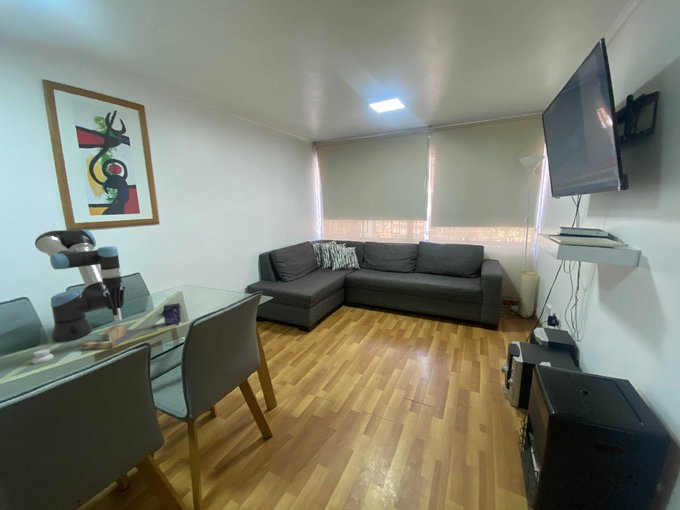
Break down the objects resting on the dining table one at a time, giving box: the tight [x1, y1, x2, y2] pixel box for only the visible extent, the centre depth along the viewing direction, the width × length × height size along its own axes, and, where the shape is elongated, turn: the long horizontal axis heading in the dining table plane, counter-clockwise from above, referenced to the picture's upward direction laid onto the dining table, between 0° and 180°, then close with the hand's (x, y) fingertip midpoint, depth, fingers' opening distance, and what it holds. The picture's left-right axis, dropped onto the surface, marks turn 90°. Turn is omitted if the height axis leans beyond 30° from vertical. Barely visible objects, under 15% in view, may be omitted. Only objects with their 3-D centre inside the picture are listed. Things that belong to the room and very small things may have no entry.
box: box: [163, 302, 182, 326], centre depth 157 cm, size 8×6×11 cm
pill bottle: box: [31, 348, 55, 365], centre depth 118 cm, size 6×6×12 cm
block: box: [97, 324, 127, 342], centre depth 137 cm, size 5×5×11 cm
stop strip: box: [80, 341, 117, 350], centre depth 128 cm, size 14×2×2 cm, turn 93°
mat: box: [94, 328, 143, 346], centre depth 139 cm, size 14×18×1 cm
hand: (118, 320), depth 141 cm, fingers closed
